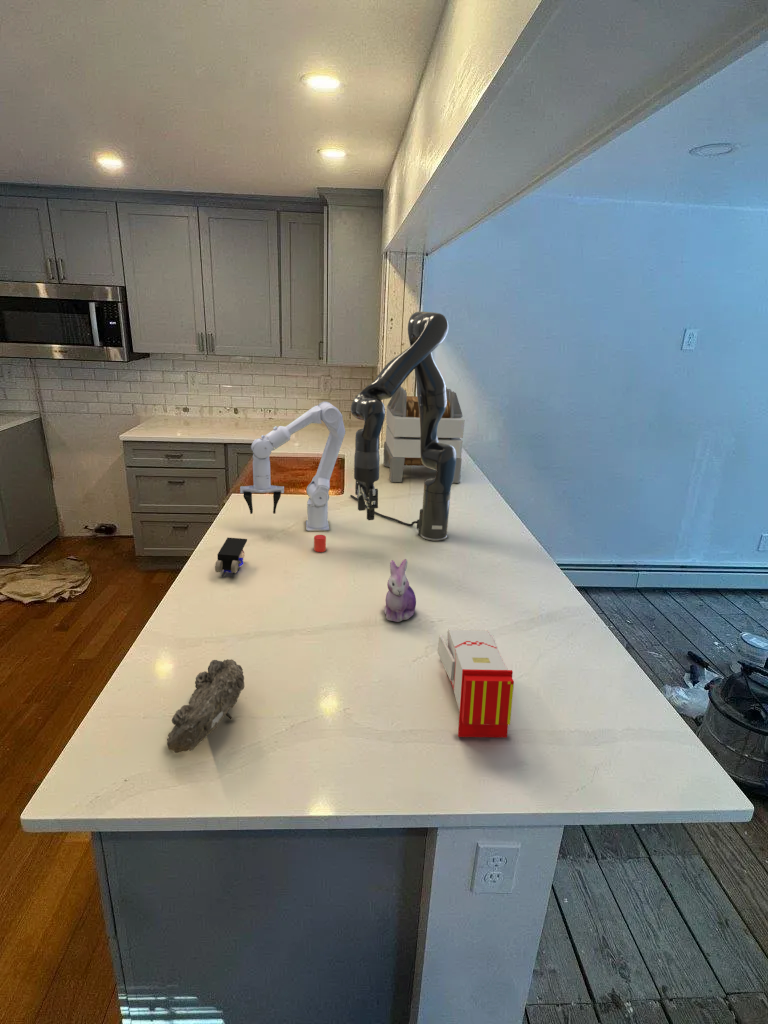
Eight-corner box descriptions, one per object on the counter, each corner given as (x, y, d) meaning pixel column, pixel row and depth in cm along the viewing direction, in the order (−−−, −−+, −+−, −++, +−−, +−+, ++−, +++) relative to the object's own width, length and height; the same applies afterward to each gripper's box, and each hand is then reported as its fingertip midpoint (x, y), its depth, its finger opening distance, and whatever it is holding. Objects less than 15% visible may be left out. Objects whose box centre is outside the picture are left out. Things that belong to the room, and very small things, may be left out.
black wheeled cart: (238, 584, 162) (249, 557, 175) (236, 562, 158) (247, 536, 172) (215, 584, 161) (227, 556, 175) (212, 561, 158) (225, 535, 171)
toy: (488, 613, 130) (523, 677, 101) (484, 667, 133) (517, 744, 104) (435, 612, 130) (455, 676, 101) (432, 666, 133) (451, 743, 103)
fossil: (192, 660, 117) (244, 628, 112) (224, 691, 120) (276, 661, 115) (142, 746, 98) (202, 712, 93) (182, 779, 101) (242, 748, 96)
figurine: (392, 627, 141) (395, 572, 136) (374, 608, 149) (376, 556, 144) (425, 619, 145) (429, 566, 140) (405, 601, 154) (408, 550, 149)
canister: (317, 553, 181) (318, 540, 180) (311, 549, 184) (311, 536, 183) (328, 550, 184) (328, 537, 182) (321, 546, 186) (322, 533, 185)
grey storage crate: (382, 463, 289) (386, 382, 275) (445, 464, 293) (451, 384, 279) (390, 482, 257) (394, 392, 243) (460, 483, 261) (468, 394, 247)
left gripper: (238, 478, 185) (240, 517, 190) (283, 478, 187) (284, 516, 192) (240, 472, 192) (242, 509, 196) (283, 472, 194) (284, 509, 199)
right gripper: (347, 458, 174) (347, 508, 180) (362, 471, 161) (361, 524, 167) (370, 457, 176) (369, 506, 182) (387, 469, 164) (385, 521, 170)
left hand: (263, 512), depth 195 cm, fingers open, 7 cm apart
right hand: (365, 514), depth 175 cm, fingers open, 8 cm apart
